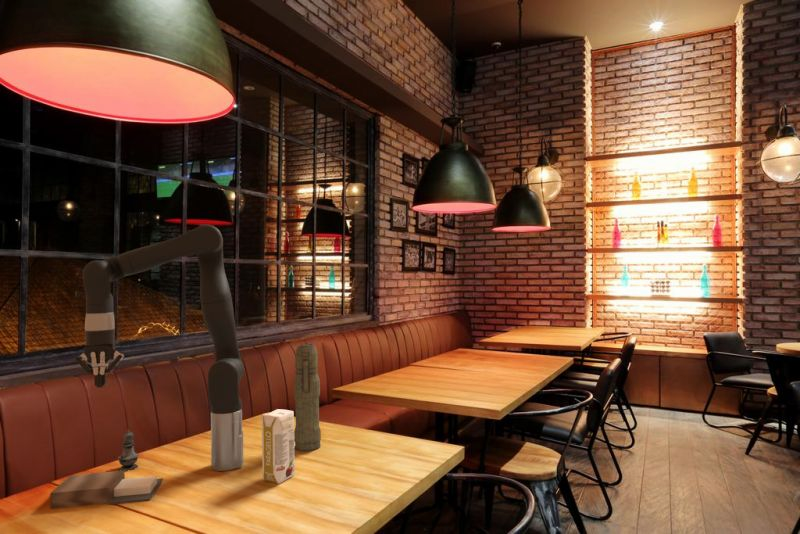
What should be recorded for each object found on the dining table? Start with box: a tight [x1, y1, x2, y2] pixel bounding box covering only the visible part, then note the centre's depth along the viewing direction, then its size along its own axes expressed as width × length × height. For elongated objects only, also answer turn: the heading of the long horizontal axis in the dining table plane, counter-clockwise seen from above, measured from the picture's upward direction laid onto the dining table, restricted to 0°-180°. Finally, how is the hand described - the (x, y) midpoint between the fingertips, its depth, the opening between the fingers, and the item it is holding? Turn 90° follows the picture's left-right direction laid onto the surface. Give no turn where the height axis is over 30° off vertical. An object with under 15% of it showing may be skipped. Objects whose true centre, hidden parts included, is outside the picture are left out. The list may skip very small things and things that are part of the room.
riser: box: [49, 470, 126, 510], centre depth 139 cm, size 14×12×4 cm
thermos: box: [293, 343, 322, 453], centre depth 176 cm, size 9×12×35 cm
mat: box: [108, 477, 164, 505], centre depth 142 cm, size 10×14×1 cm
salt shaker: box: [117, 429, 140, 472], centre depth 160 cm, size 6×6×12 cm
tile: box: [114, 475, 158, 497], centre depth 142 cm, size 9×7×2 cm
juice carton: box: [261, 408, 296, 484], centre depth 150 cm, size 8×9×19 cm
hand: (100, 387), depth 151 cm, fingers closed
